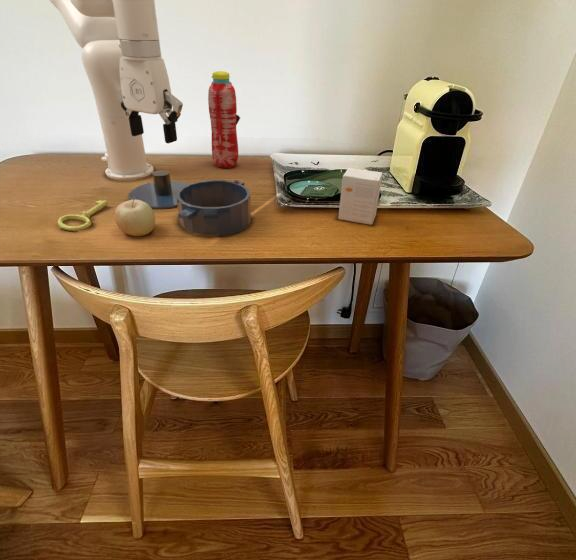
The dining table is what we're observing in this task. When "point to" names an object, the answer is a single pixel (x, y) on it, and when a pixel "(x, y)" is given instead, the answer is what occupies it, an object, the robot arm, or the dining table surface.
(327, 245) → the dining table surface
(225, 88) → the water bottle
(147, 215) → the fruit
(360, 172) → the small box
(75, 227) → the key
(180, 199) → the pot
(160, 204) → the lid
